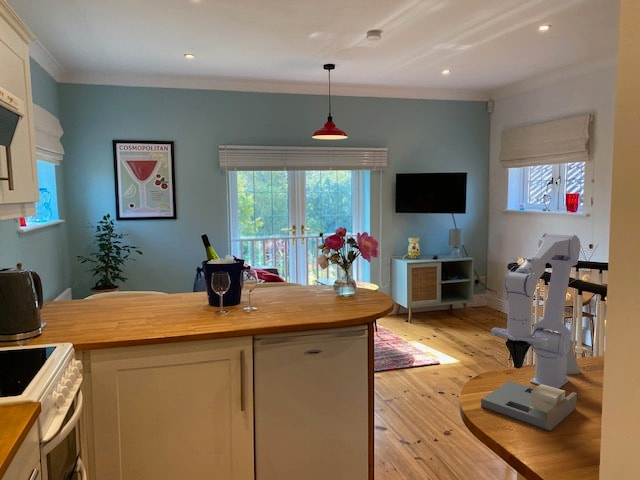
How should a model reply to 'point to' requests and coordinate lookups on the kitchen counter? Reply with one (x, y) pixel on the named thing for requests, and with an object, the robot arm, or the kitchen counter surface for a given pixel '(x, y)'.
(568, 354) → the flask
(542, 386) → the beech block
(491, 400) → the board
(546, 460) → the kitchen counter surface
